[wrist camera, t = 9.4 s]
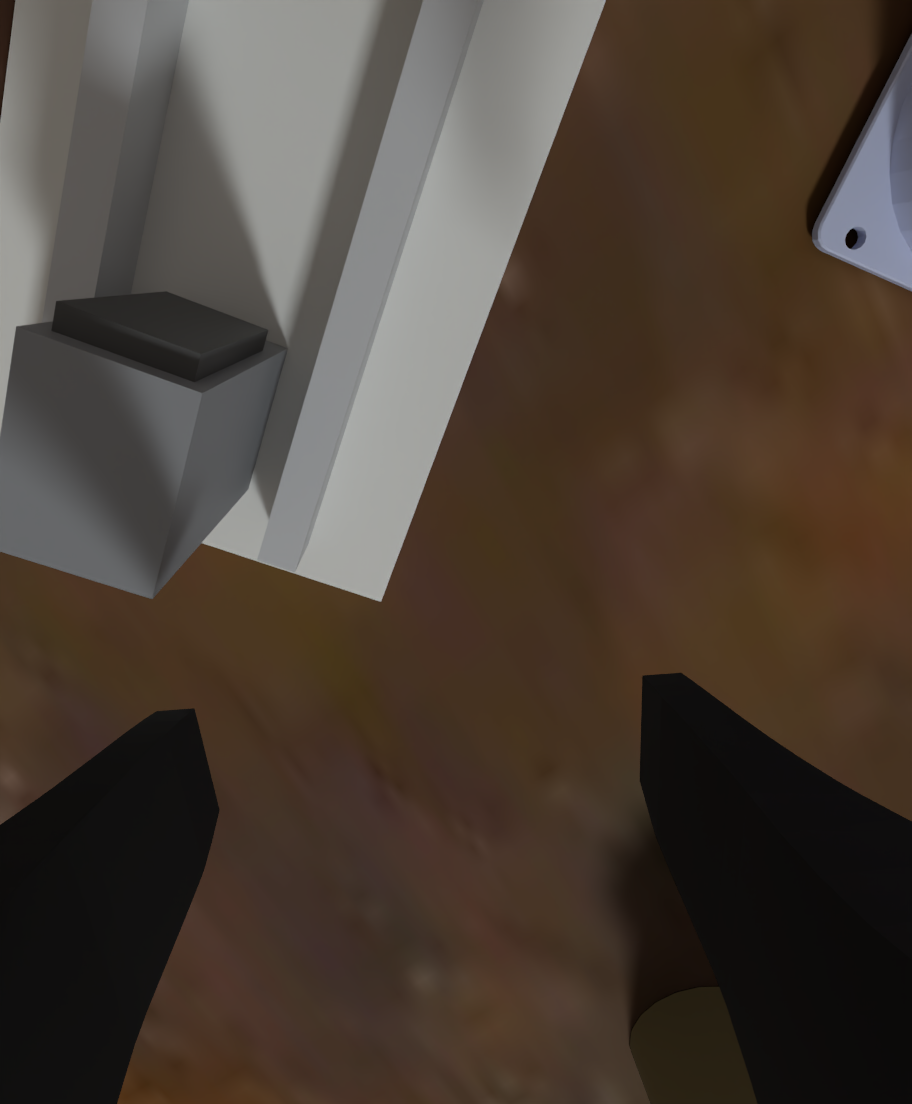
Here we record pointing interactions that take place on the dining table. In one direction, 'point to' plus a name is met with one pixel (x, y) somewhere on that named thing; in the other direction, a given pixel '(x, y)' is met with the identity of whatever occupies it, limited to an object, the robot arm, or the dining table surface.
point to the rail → (254, 267)
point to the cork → (690, 1051)
